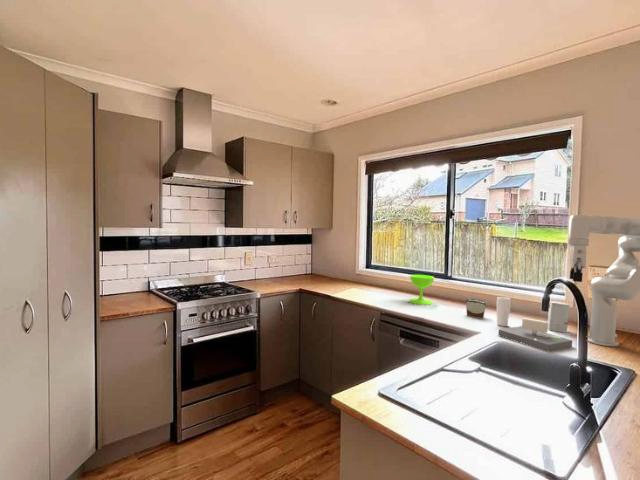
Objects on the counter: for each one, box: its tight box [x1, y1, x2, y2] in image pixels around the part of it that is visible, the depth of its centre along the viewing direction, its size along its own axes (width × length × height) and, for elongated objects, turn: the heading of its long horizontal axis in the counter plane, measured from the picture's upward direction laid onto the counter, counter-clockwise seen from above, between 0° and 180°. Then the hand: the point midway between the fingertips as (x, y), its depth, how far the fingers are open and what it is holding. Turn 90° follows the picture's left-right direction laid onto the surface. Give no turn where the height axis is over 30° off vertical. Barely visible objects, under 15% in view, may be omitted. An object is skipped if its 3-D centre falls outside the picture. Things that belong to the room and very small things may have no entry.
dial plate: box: [497, 325, 573, 352], centre depth 170 cm, size 18×24×3 cm
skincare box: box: [547, 300, 570, 333], centre depth 191 cm, size 8×6×15 cm
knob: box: [521, 317, 561, 339], centre depth 168 cm, size 15×3×6 cm, turn 51°
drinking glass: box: [496, 296, 512, 327], centre depth 197 cm, size 7×7×15 cm
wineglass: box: [408, 274, 435, 306], centre depth 250 cm, size 16×16×18 cm
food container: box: [464, 297, 488, 319], centre depth 215 cm, size 12×6×10 cm, turn 47°
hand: (575, 280), depth 163 cm, fingers open, 9 cm apart
